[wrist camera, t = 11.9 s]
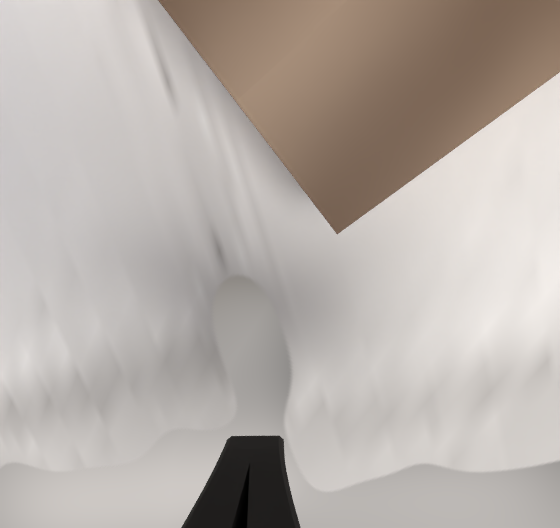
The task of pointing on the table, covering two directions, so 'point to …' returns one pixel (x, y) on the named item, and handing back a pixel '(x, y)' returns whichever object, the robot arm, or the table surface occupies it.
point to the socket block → (371, 81)
